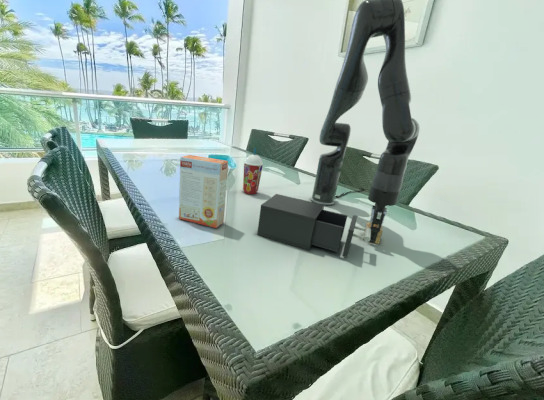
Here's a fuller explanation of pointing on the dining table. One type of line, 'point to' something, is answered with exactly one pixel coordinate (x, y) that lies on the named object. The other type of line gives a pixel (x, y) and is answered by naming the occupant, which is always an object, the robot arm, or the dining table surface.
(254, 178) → the smoothie
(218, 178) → the cracker box
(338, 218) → the drawer
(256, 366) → the dining table surface
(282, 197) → the cabinet
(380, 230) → the block
